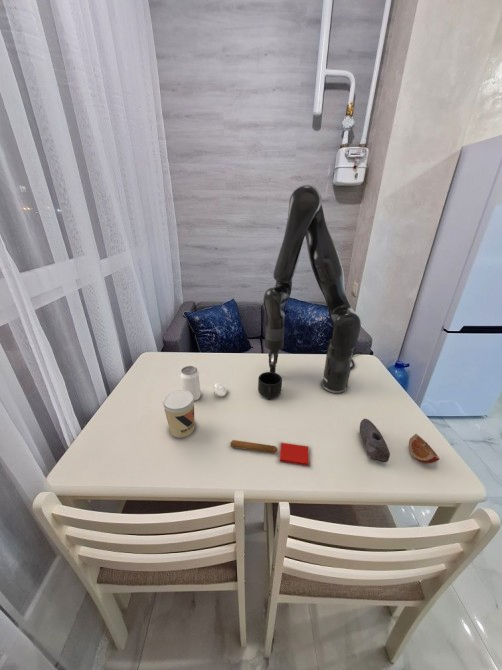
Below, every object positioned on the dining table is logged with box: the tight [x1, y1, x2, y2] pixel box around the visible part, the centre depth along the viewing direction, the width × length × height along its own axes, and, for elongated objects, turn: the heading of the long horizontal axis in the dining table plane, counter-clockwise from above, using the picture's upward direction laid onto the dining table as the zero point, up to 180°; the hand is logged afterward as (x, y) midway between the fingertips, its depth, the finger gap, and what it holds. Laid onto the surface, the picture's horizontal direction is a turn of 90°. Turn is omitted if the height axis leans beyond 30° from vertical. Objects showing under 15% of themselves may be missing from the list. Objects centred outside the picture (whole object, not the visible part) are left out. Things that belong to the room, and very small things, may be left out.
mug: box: [257, 371, 283, 401], centre depth 99 cm, size 12×9×7 cm
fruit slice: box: [408, 433, 440, 464], centre depth 75 cm, size 8×7×5 cm
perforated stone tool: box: [359, 418, 391, 464], centre depth 78 cm, size 15×5×7 cm, turn 176°
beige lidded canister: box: [162, 389, 195, 439], centre depth 83 cm, size 9×9×12 cm
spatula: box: [230, 439, 310, 467], centre depth 77 cm, size 23×6×2 cm, turn 80°
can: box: [180, 365, 201, 402], centre depth 97 cm, size 6×6×12 cm
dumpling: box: [213, 382, 227, 398], centre depth 101 cm, size 7×5×4 cm
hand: (272, 373), depth 110 cm, fingers closed
